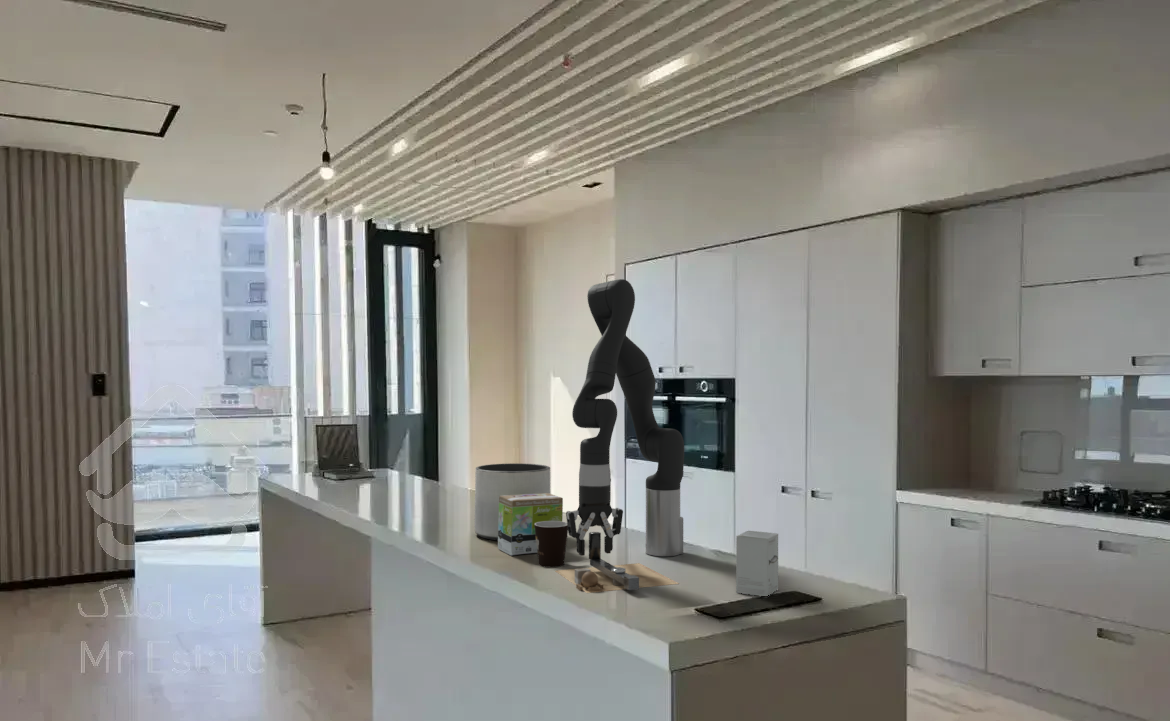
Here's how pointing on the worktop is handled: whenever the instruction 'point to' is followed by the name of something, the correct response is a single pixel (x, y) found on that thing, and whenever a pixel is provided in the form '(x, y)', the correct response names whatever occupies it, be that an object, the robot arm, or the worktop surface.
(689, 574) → the worktop surface
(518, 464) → the planter
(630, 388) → the robot arm
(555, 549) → the coffee mug
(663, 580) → the press base
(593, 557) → the lever
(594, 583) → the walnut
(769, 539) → the supplement box
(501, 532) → the tea box
